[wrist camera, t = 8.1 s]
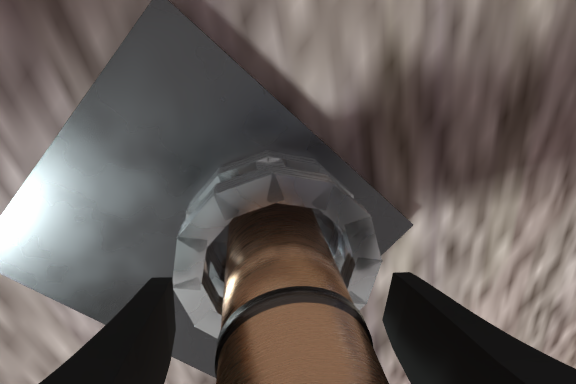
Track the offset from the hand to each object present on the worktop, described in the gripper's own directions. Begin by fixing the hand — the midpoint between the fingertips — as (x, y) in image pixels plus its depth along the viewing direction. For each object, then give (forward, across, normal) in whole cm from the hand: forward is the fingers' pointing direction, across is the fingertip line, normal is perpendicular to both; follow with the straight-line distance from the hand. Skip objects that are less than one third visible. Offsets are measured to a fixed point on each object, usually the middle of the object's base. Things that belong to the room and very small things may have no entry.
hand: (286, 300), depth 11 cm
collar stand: (+6, +3, 0) cm, 6 cm away
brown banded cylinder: (+4, 0, 0) cm, 4 cm away
